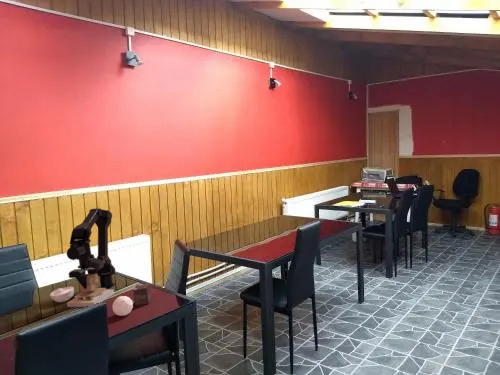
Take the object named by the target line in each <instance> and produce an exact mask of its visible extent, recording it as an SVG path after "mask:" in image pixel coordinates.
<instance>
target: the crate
mask: <svg viewBox="0 0 500 375" xmlns="http://www.w3.org/2000/svg"><path fill="white" fill-rule="evenodd" d="M87 274H88V273H87ZM86 282H87V288H86V289H84V288H83V286H82V285H81V284H80V282H79V281H78V285H79V290H80V292H82V291H92V290H94V289H96V288H98V287H100V280H99V276H98V274H88V276H87V277H86Z"/></svg>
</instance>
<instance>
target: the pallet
mask: <svg viewBox="0 0 500 375" xmlns="http://www.w3.org/2000/svg"><path fill="white" fill-rule="evenodd" d="M106 289H107V288H98V287H97V288H96V289H94V290H92V291H80V292H79V293H78V294H76V295H75V294H74V295H73V297H74V298H75V299H76V300H79V299H81V298H82V297H83V300H86V299H88V298H89V297H91V300H94V299H95V298H97V297H98V296H100V295H101V294H103V293H104V292H106V291H105V290H106Z"/></svg>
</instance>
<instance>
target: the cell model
mask: <svg viewBox="0 0 500 375" xmlns="http://www.w3.org/2000/svg"><path fill="white" fill-rule="evenodd" d="M49 296H50V297H51V299H52V300H53V301H55V302H56V303H64V302H68V301H70V299H71V298H72V297H74V296H75V287H74V286H71V285H70V286H66V287H61V288H60V287H59V288H56V289H54V290H53V291H52V292H51V293H50V294H49Z"/></svg>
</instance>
